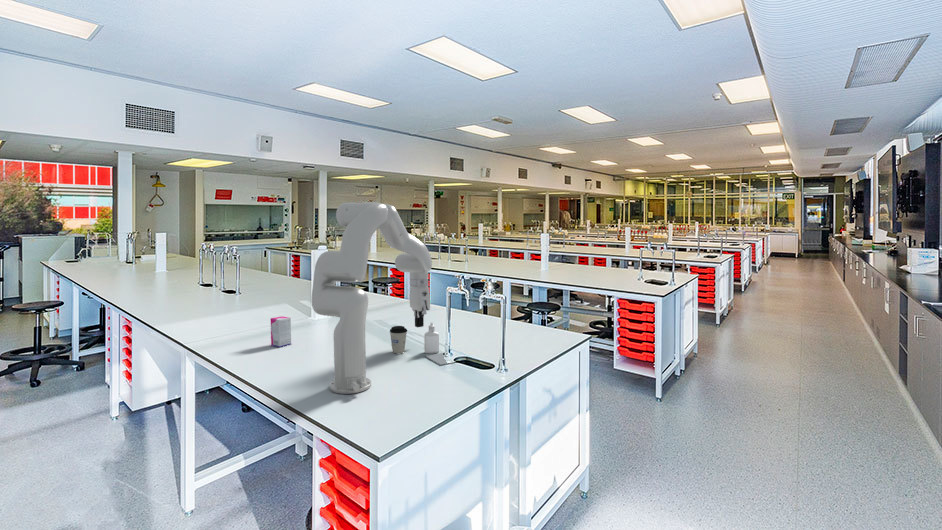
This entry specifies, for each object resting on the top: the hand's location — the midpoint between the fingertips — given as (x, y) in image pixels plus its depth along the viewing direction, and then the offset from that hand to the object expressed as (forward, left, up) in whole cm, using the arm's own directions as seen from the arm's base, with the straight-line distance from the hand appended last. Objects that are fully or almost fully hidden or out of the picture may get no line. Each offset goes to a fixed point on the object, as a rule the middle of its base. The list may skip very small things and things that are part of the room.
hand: (419, 326), depth 189 cm
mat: (-21, 0, -8) cm, 22 cm away
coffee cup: (-4, +11, -8) cm, 14 cm away
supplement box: (+30, +48, -8) cm, 57 cm away
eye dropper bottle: (-11, 0, -8) cm, 14 cm away
